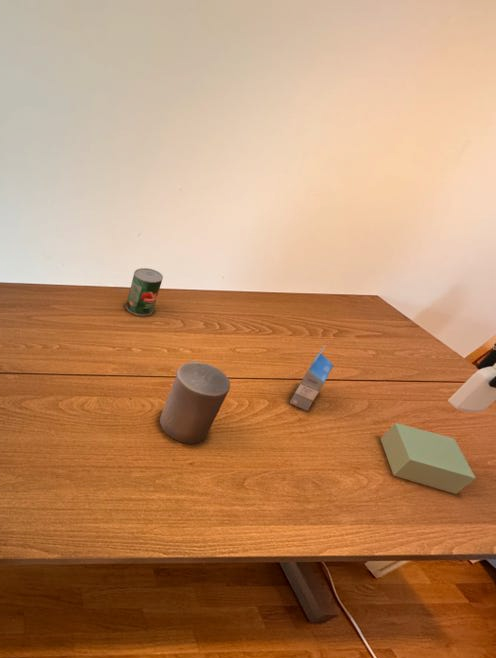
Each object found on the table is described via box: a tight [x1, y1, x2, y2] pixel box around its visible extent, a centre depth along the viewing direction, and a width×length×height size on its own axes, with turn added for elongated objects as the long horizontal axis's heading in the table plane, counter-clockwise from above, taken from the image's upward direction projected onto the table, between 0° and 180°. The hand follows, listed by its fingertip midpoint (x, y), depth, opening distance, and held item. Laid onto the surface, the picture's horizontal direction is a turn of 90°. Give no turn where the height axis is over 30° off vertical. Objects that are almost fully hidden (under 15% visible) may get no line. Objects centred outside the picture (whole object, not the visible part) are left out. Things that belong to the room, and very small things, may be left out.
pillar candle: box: [159, 361, 231, 445], centre depth 83 cm, size 10×10×15 cm
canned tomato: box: [125, 267, 164, 317], centre depth 120 cm, size 8×8×11 cm
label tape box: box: [289, 344, 334, 412], centre depth 93 cm, size 9×4×12 cm, turn 137°
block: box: [380, 422, 477, 495], centre depth 81 cm, size 10×10×5 cm
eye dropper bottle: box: [447, 363, 496, 413], centre depth 72 cm, size 4×6×12 cm
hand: (494, 378), depth 71 cm, fingers closed on eye dropper bottle, 4 cm apart
